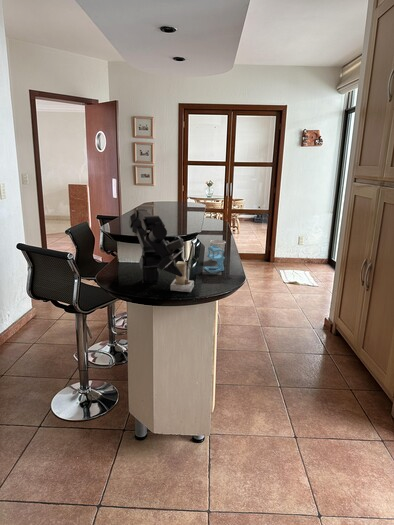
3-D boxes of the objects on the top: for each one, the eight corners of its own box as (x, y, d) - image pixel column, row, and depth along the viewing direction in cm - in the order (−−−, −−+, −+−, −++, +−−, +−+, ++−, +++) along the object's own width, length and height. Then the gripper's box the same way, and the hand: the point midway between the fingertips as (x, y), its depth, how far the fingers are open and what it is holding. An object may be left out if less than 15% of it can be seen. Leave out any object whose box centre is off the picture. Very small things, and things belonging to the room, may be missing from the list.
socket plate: (170, 290, 149) (170, 284, 149) (174, 284, 156) (174, 278, 155) (190, 292, 148) (190, 286, 147) (193, 286, 155) (194, 280, 154)
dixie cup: (218, 263, 189) (219, 244, 186) (205, 259, 193) (206, 241, 190) (227, 259, 195) (228, 241, 192) (214, 256, 200) (215, 238, 197)
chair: (226, 272, 175) (227, 247, 172) (210, 273, 172) (211, 248, 168) (219, 267, 182) (220, 243, 178) (203, 268, 179) (205, 244, 175)
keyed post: (175, 289, 151) (176, 263, 148) (177, 286, 154) (178, 261, 151) (186, 290, 150) (187, 264, 147) (188, 287, 153) (189, 262, 150)
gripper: (165, 236, 137) (194, 267, 138) (178, 227, 155) (202, 254, 156) (146, 255, 141) (173, 284, 142) (160, 243, 158) (184, 270, 160)
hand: (184, 272), depth 150 cm, fingers open, 9 cm apart
